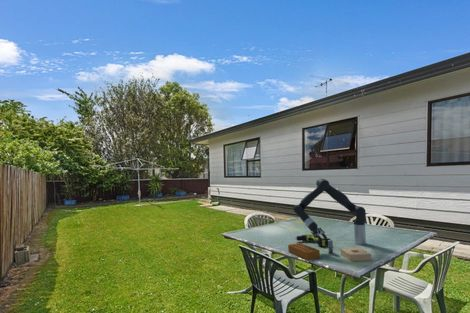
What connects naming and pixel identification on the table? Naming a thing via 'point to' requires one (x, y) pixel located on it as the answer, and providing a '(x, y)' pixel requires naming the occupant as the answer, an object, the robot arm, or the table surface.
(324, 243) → the cordless drill
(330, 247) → the chuck key
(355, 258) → the block
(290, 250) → the brick
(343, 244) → the table surface
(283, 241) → the table surface
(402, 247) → the table surface
